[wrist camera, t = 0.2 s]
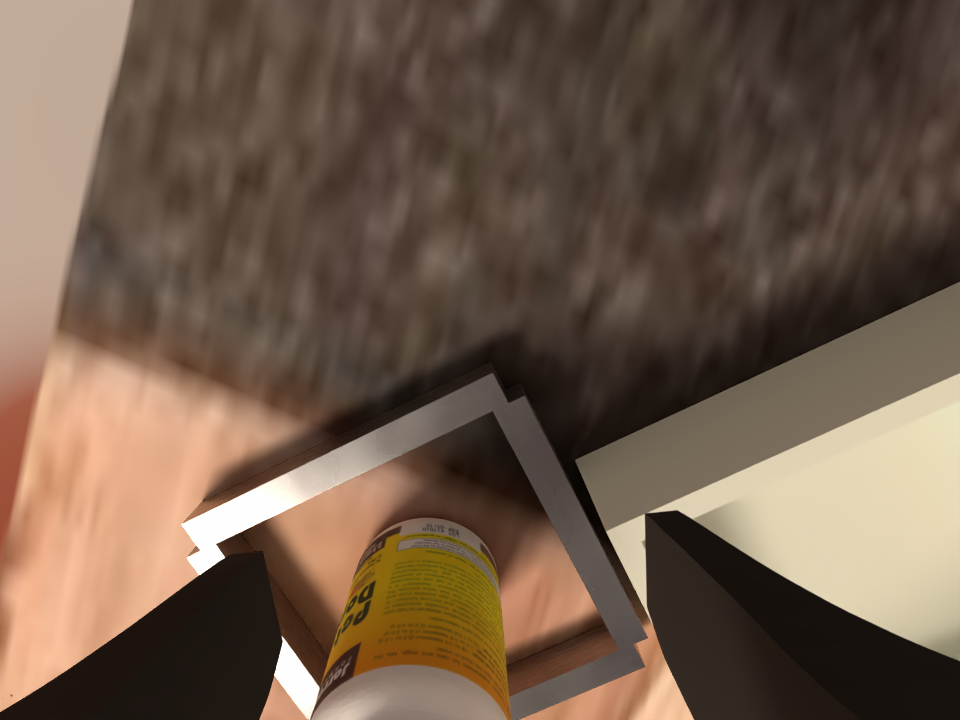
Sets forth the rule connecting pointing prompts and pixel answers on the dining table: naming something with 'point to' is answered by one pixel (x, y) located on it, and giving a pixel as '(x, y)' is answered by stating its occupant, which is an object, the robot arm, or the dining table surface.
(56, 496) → the dining table surface
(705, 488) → the bin
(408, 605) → the supplement bottle
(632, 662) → the socket collar
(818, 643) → the robot arm
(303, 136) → the dining table surface
